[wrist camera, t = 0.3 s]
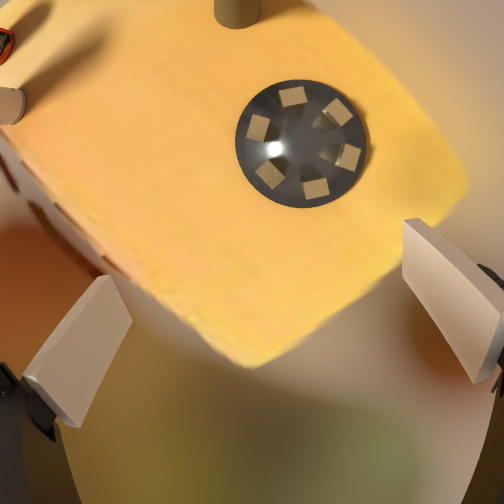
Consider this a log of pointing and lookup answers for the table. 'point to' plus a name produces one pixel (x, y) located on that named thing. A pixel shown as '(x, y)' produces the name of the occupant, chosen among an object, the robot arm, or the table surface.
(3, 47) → the canned food
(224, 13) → the cork
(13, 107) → the travel mug
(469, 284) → the robot arm
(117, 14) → the table surface
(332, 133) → the ring holder
